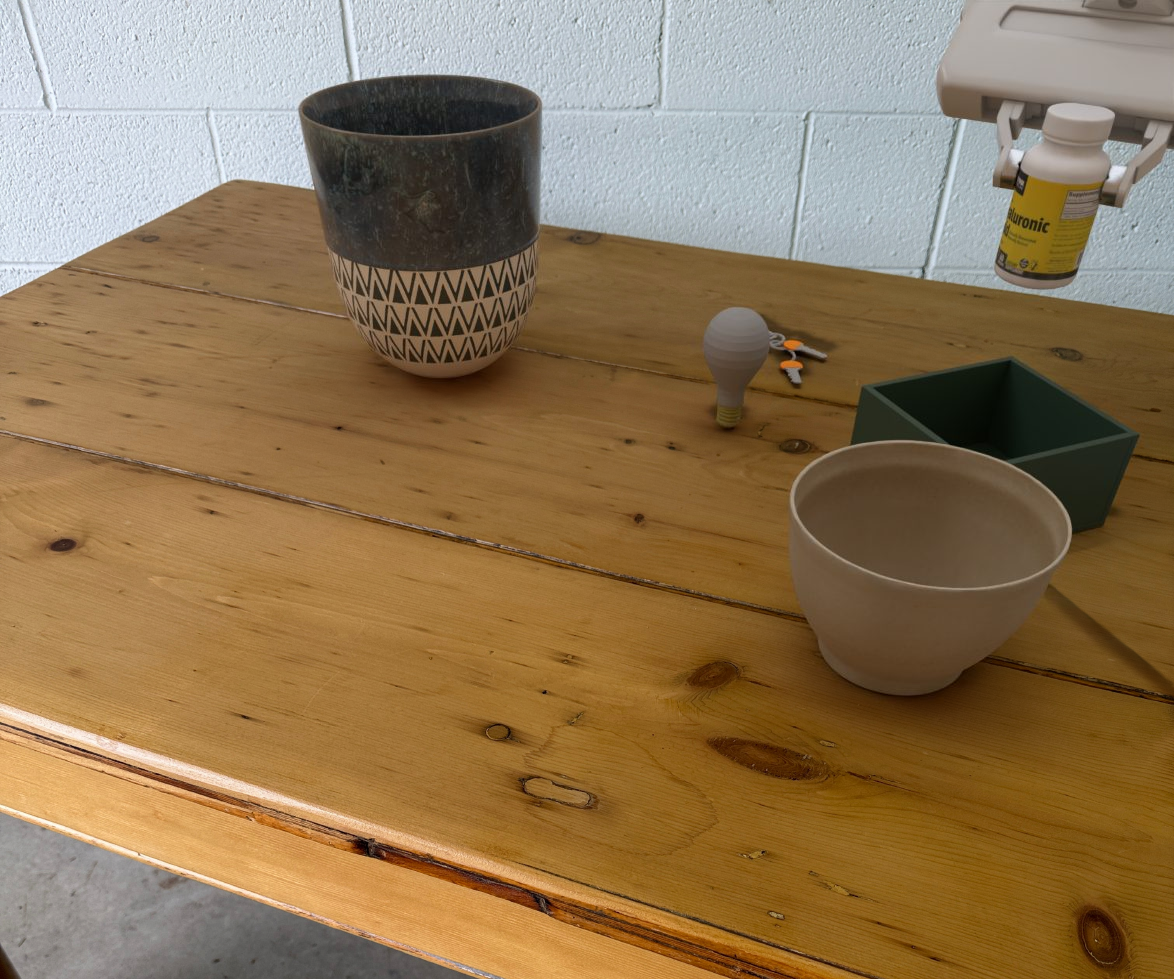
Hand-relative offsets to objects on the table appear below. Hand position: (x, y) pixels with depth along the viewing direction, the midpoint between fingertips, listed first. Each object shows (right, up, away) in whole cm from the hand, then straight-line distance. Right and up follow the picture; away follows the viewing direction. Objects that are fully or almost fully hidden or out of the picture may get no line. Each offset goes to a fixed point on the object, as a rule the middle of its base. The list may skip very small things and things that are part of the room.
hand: (1057, 192), depth 67 cm
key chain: (-12, +3, +34) cm, 36 cm away
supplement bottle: (0, -3, +4) cm, 6 cm away
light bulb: (-18, -7, +24) cm, 31 cm away
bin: (0, -15, +16) cm, 22 cm away
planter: (-44, +2, +32) cm, 54 cm away
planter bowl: (-10, -29, +2) cm, 31 cm away
